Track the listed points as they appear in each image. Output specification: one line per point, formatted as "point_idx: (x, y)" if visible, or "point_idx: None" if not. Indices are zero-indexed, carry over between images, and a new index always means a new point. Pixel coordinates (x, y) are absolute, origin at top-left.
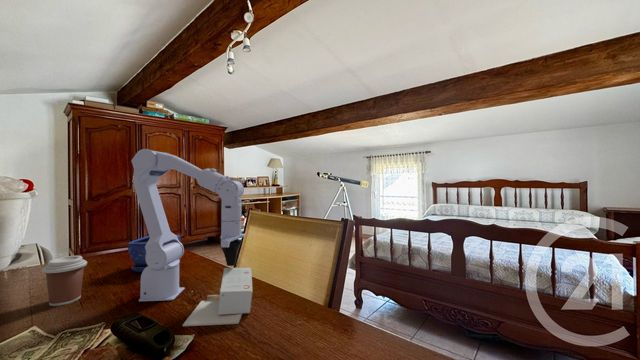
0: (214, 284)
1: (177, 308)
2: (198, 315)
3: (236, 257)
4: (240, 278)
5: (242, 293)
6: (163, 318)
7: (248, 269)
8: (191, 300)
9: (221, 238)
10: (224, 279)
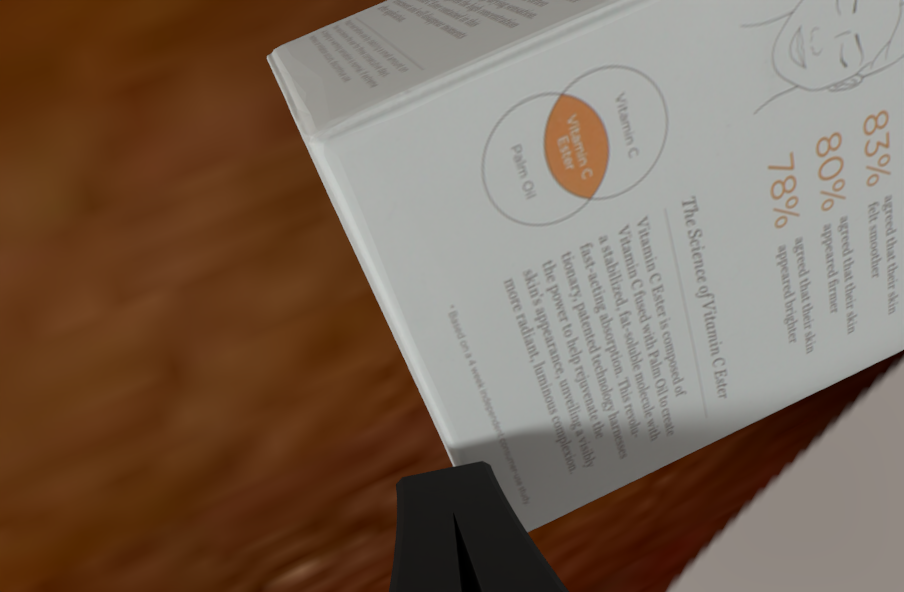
0: (105, 497)
1: (611, 498)
2: None
3: (448, 582)
4: (800, 155)
5: None
6: (741, 492)
7: (428, 164)
8: None
9: None
10: (834, 360)
